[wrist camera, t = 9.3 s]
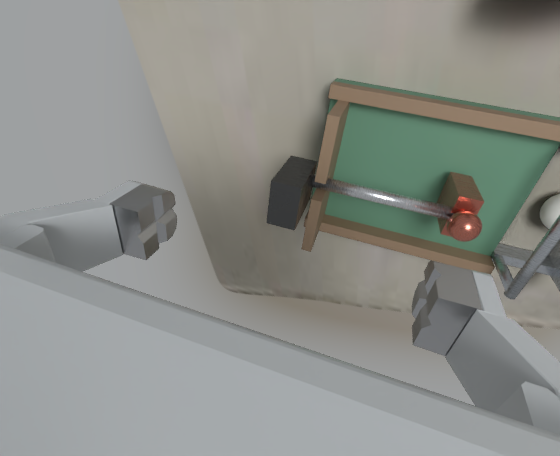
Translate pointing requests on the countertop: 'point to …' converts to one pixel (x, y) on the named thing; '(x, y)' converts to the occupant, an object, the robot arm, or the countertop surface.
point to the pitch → (425, 168)
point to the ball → (550, 211)
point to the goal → (529, 261)
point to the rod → (376, 199)
